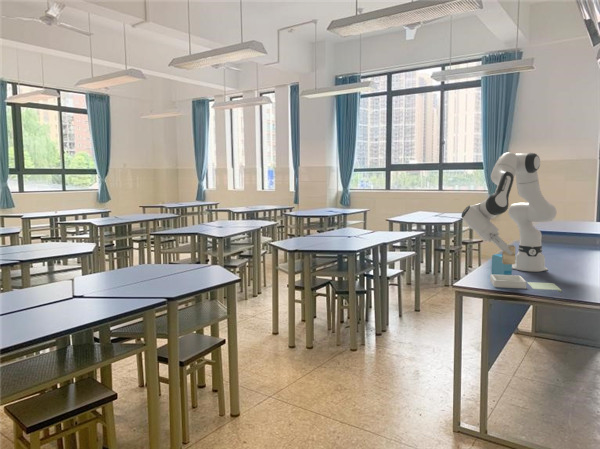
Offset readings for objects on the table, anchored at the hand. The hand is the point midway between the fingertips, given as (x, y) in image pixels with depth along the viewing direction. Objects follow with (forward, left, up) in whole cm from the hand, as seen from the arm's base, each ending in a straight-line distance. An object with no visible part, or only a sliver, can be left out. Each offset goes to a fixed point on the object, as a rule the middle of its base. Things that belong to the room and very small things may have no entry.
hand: (510, 252), depth 213 cm
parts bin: (0, -1, -17) cm, 17 cm away
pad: (0, +15, -17) cm, 23 cm away
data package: (-19, -1, -17) cm, 25 cm away
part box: (0, -1, -5) cm, 5 cm away
